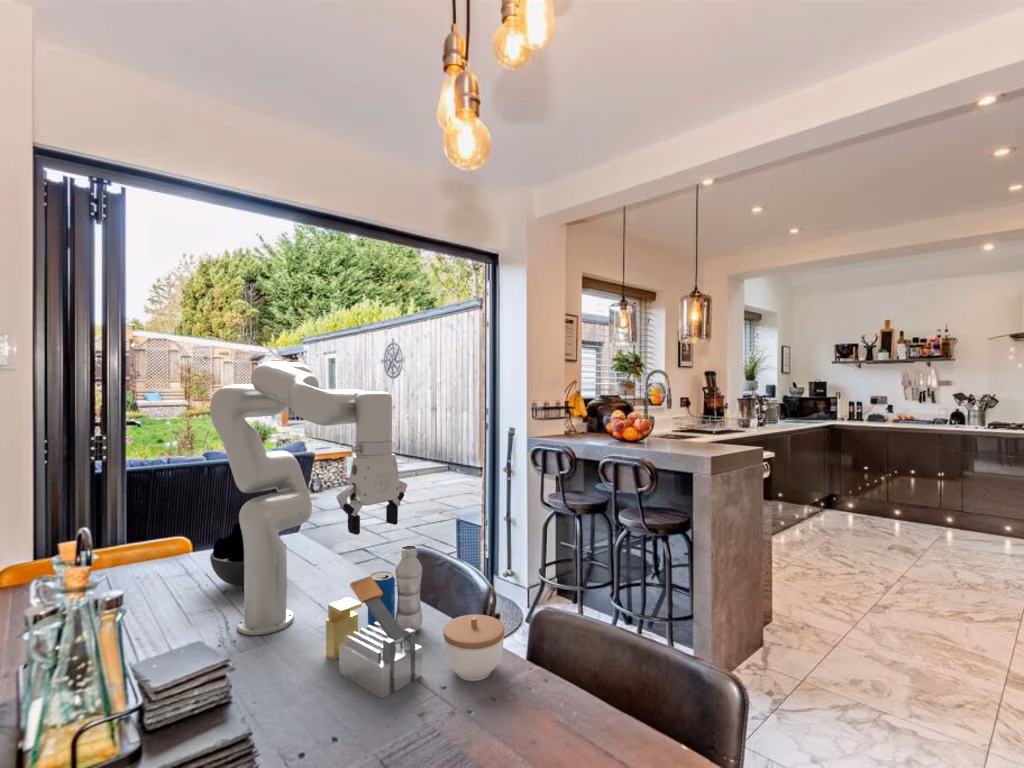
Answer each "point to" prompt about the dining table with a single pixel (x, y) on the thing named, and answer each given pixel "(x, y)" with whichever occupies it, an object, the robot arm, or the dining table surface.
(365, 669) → the heatsink
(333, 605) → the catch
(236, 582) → the bowl of black rocks
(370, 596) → the strap
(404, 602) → the plastic bottle
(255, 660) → the dining table surface
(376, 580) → the beverage can
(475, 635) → the lidded bowl
